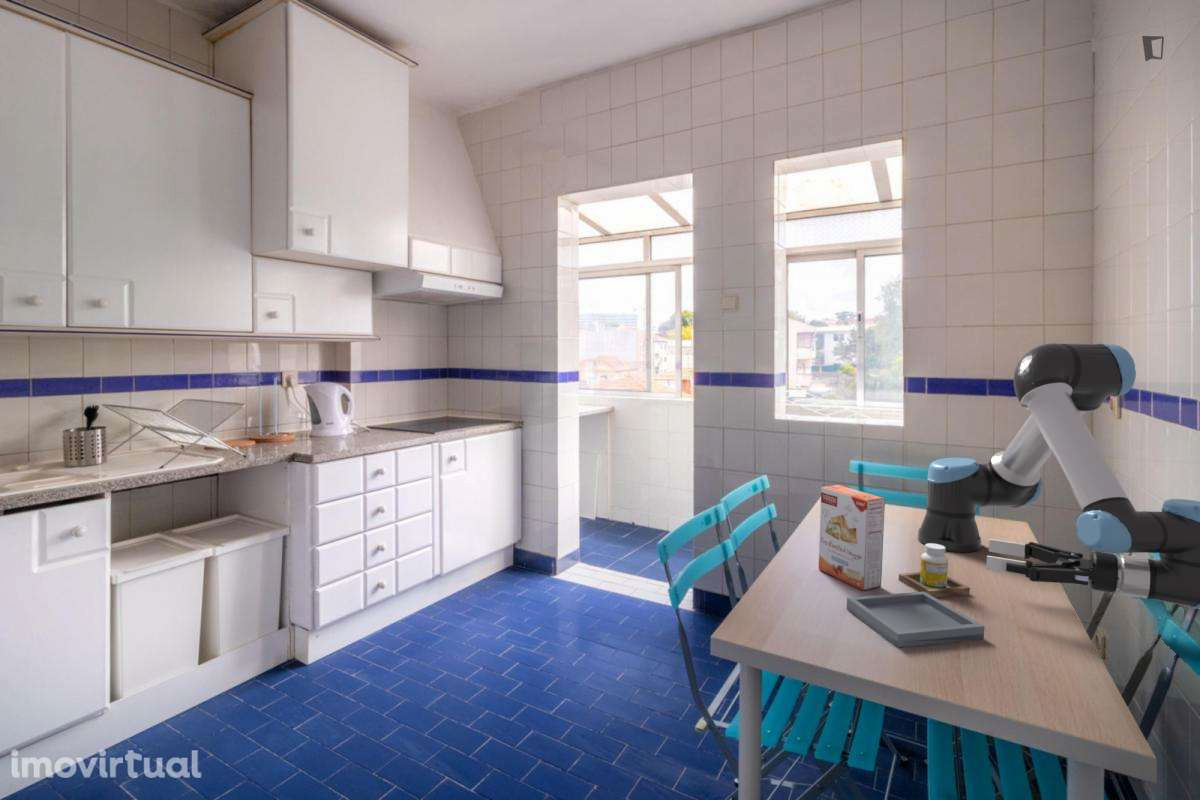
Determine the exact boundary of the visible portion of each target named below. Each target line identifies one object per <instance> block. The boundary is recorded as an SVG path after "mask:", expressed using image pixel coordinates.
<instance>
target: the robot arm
mask: <svg viewBox="0 0 1200 800" xmlns="http://www.w3.org/2000/svg"><path fill="white" fill-rule="evenodd" d="M1136 376H1137V370H1136V364H1135V361H1134V359H1133V355H1131V354H1130V352H1129V351H1128V350H1127V349H1125V348H1124V347H1123V346H1120V345H1118V344H1115V343H1114V344H1112V343H1103V342H1096V343H1056V342H1055V343H1045V344H1041V345H1038V346H1036V347H1034V348H1032V349H1030V350H1029V351H1027V353H1025V354H1024V355H1023V356H1022V357H1021V358H1020V360H1019V361H1018V363H1017V365H1016V367H1015V370H1014V372H1013V388H1014V392H1015V395H1016V397H1017V398H1016V399H1017V400H1018V402H1019V404H1020V406H1021V407H1022V408H1023V409H1025V410H1026V411H1029V412H1030V413H1031V414H1029V417H1028V418H1027V419H1026V421H1025V422H1024V424H1023V425H1022V426H1021V428H1020V429H1019V430H1018V432H1017V433H1016V435H1015V436H1014V437H1013V439H1012V440H1011V442H1010V443H1009V445H1008V446H1007V447H1006V448H1005V450H1002V451H998V452H996V453H995V454H993V455H992V457H991V459H990V460H989V461H988V463H979V462H978V461H977V460H975V459H973V458H969V457H968V458H967V457H945V458H940V459H935V460H934V461H932V462H931V463H930V464H929V466H928V472H927V473H928V474H927V478H926V479H927V491H926V511H925V516H924V517H923V519H922V522H921V525H920V527H919V529H918V531H917V540H918V541H919V542H920V543H921V544H923V545H924V546H925V545H926V544H928V543H933V544H939V545H942V546H944V547H945V551H949V552H957V553H970V552H971V553H972V552H977V551H979V550H981V548H982V537H981V535H980V533H979V528H978V526H977V525H978V524H977V522H976V509H977V508H978V507H979V508H980V507H981V508H983V507H985V508H1013V509H1014V508H1022V507H1027V506H1028V507H1029V506H1030V505H1033V504H1034V503H1035V502H1036V501H1037V500H1038V499H1039V498H1040V496H1041V494H1042V489H1041V488H1042V487H1043V479H1042V476H1041V470H1040V469H1041V468H1042V467H1043V465H1044V464H1045V463H1046V462H1047V460H1048V459H1049V457H1050V456H1051V455H1053V457H1054V460H1055V461H1056V463H1057V465H1058V468H1059V469H1060V471H1061V473H1062V474H1063V476H1064V479H1065V480H1066V482H1067V484H1068V486H1069V488H1070V490H1071V491H1072V494H1073V496H1074V497H1075V499H1076V502H1077V503H1078V505H1079V507H1080V509H1081V511H1082V513H1081V514H1080V515H1079V516H1078V518H1077V521H1076V523H1075V524H1076V525H1075V526H1076V528H1077V532H1076V534H1077V537H1078V539H1079V541H1080V542H1081V543H1082V544H1083V545H1084V546H1085V548H1087V549H1088V550H1091V551H1092V552H1091V554H1090V559H1086V558H1084V554H1083V553H1081V552H1074V551H1069V550H1065V549H1062V548H1056V547H1052V546H1049V545H1045V544H1041V543H1037V542H1033V541H1029V542H1028V543H1020V542H1014V541H1007V540H1002V539H1001V540H999V539H993V538H989V539H988V540H989V545H988V552H991V553H996V554H1002V555H1008V556H1009V555H1010V556H1016V557H1022V558H1024V559H1025V561H1024V560H1018V559H1012V558H1006V557H1000V556H999V557H998V556H994V555H993V556H991V555H988V554H987V555H986V562H985V563H986V565H985V567H986V568H985V569H986V570H987V571H988V570H990V571H994V572H1000V573H1005V574H1012V575H1018V576H1024V577H1026V578H1028V579H1029V581H1031V582H1037V583H1038V582H1039V583H1040V582H1041V583H1061V584H1074V585H1075V584H1077V585H1080V586H1081V585H1082V586H1088V585H1089V586H1090V588H1091V590H1094V591H1100V592H1105V593H1111V594H1114V593H1116V591H1117V592H1118V593H1119V594H1120V595H1124V596H1130V597H1131V598H1132V599H1133V600H1139V598H1142V599H1148V600H1154V601H1159V602H1164V603H1170V604H1173V605H1179V606H1185V607H1189V608H1192V609H1200V500H1199V501H1198V500H1192V499H1185V498H1183V499H1182V498H1181V499H1180V498H1170V499H1166V500H1165V501H1163V504H1162V507H1161V509H1160V510H1161V511H1153V510H1152V511H1145V510H1144V511H1143V510H1142V511H1138V510H1136V509H1135V506H1134V505H1133V504H1132V502H1131V500H1130V499H1129V497H1128V495H1127V494H1126V493H1125V490H1124V489H1123V487H1122V485H1121V483H1120V481H1119V480H1118V478H1117V477H1116V475H1115V472H1114V471H1113V470H1112V467H1111V466H1110V464H1109V463H1108V461H1107V458H1106V457H1105V455H1104V453H1103V451H1102V450H1101V449H1100V447H1099V445H1098V443H1097V441H1096V439H1095V438H1094V436H1093V435H1092V432H1091V431H1090V429H1089V427H1088V426H1087V425H1088V424H1087V423H1086V422H1085V420H1084V418H1083V415H1084V414H1085V413H1088V412H1089V413H1091V412H1094V411H1096V410H1099V408H1100V407H1101V406H1102V404H1103V403H1104V402H1105V401H1106V400H1107V399H1108V398H1109V397H1119V396H1123V395H1126V394H1127V393H1128V392H1130V390H1131V389H1132V388H1133V386H1134V384H1135V381H1136ZM1125 553H1127V554H1128V553H1129V554H1130V553H1133V554H1134V553H1136V554H1137V553H1138V554H1139V553H1147V554H1155V553H1156V554H1158V555H1159V560H1158V559H1151V558H1146V557H1138V556H1133V555H1125ZM1116 554H1121V555H1119V556H1118V557H1117V555H1116ZM1031 558H1032V559H1034V560H1038V561H1041V562H1040V563H1039V562H1038V563H1033V562H1032V561H1030V560H1028V559H1031Z"/></svg>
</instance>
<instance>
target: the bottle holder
mask: <svg viewBox="0 0 1200 800" xmlns="http://www.w3.org/2000/svg"><path fill="white" fill-rule="evenodd" d="M920 572H921V571H920ZM920 572H918V571H917V572H908V573H907V572H905V573H899V574H898V581H900V582H901V583H902V584H904V585H907V586H908V587H910V588H911V589H913V590H915V591H916V592H926V593H928V594H929V595H931V596H933V597H935V598H942V597H943V598H946V597H955V596H956V597H958V596H967V595H968V596H969V595H970V592H971V590H970V589H971V588H970V587H969V586H967V585H965V584H963V583H961V582H960V581H957V580H956V579H953V578H951V577H950V576H947V586H948V587H947V588H937V589H929V588H928V587H926V586H924V585H922V584H920Z"/></svg>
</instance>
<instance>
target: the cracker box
mask: <svg viewBox="0 0 1200 800" xmlns="http://www.w3.org/2000/svg"><path fill="white" fill-rule="evenodd" d="M820 488H821V489H820V513H819V514H820V515H819V518H820V519H819V545H818V547H819V548H818V570H819V571H822V572H823V573H826V574H828V575H829V576H833V577H834V578H837V579H838V580H840V581H842V582H845V583H847V584H848V585H851V586H853V587H855V588H857V589H859V590H861V591H867V590H868V591H869V590H871V589H876V588H880V587H882V578H883V577H882V574H883V573H882V571H883V554H884V553H883V551H884V531H885V529H884V527H885V511H886V510H885V509H886V508H885V506H886V503H885V502H886V499H885V498H884V497H881V496H877V495H874V494H870V493H867V492H864V491H860V490H858V489H854V488H851V487H847V486H844V485H840V484H836V485H835V484H834V485H825V486H821V487H820Z"/></svg>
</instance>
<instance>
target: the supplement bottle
mask: <svg viewBox="0 0 1200 800" xmlns="http://www.w3.org/2000/svg"><path fill="white" fill-rule="evenodd" d="M924 551H925V552H923V553H922V554H921V556H920V557H921V558H920V580H919V583H920V584H922V585H924V586H926V587H928V588H929V589H937V588H948V587H947V586H948V585H947V577H948V568H949V559H948V557H947V556H946V550H945V547H944V546H942V545H939V544H933V543H928V544H926V545H925V544H924Z"/></svg>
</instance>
